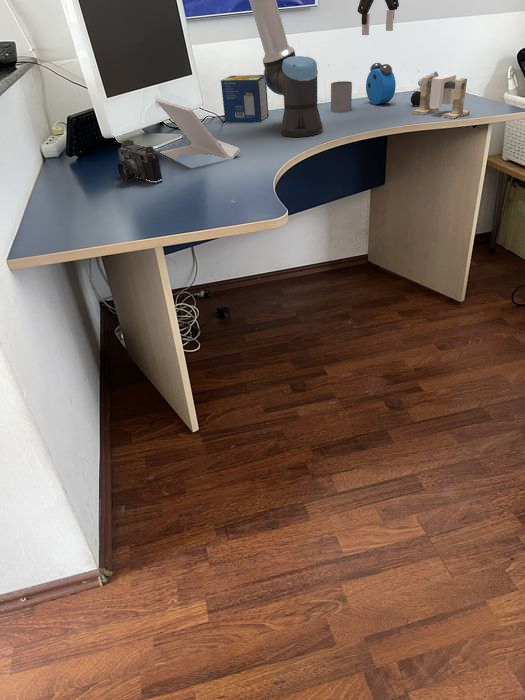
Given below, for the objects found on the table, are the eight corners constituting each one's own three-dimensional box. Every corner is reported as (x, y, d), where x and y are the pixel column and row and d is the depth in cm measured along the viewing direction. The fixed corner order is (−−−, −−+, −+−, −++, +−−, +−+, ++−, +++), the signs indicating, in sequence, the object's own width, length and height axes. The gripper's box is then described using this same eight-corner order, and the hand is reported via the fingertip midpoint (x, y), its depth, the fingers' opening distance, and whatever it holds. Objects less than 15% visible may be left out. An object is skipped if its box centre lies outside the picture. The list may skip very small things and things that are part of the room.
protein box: (234, 116, 220) (230, 75, 211) (269, 116, 215) (266, 74, 206) (224, 122, 212) (219, 79, 203) (260, 122, 207) (256, 79, 198)
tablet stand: (191, 170, 161) (182, 110, 151) (159, 154, 179) (149, 100, 169) (242, 157, 168) (236, 99, 158) (206, 144, 186) (199, 91, 176)
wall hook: (431, 73, 215) (411, 72, 222) (429, 98, 221) (409, 96, 227) (444, 70, 219) (423, 69, 226) (441, 95, 225) (421, 93, 231)
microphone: (431, 105, 224) (408, 108, 211) (430, 91, 222) (407, 93, 209) (444, 102, 220) (421, 105, 207) (442, 87, 218) (419, 89, 205)
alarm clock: (394, 105, 215) (397, 63, 207) (382, 107, 214) (384, 65, 205) (376, 100, 225) (378, 61, 217) (364, 102, 224) (365, 62, 215)
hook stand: (453, 119, 188) (458, 82, 182) (412, 113, 200) (414, 78, 193) (469, 113, 193) (474, 77, 186) (427, 108, 205) (431, 74, 198)
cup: (328, 112, 213) (328, 85, 207) (332, 108, 219) (333, 81, 213) (349, 112, 210) (350, 84, 205) (353, 107, 217) (353, 81, 211)
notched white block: (438, 108, 191) (441, 79, 186) (429, 106, 194) (432, 78, 189) (452, 103, 196) (456, 75, 190) (443, 102, 199) (446, 74, 193)
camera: (108, 179, 158) (100, 144, 153) (134, 171, 163) (127, 137, 158) (140, 190, 147) (132, 153, 142) (167, 181, 152) (160, 145, 146)
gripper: (365, -38, 173) (363, 37, 185) (412, -42, 185) (406, 29, 197) (348, -36, 178) (346, 36, 190) (394, -40, 190) (390, 29, 202)
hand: (377, 33), depth 194 cm, fingers open, 13 cm apart
